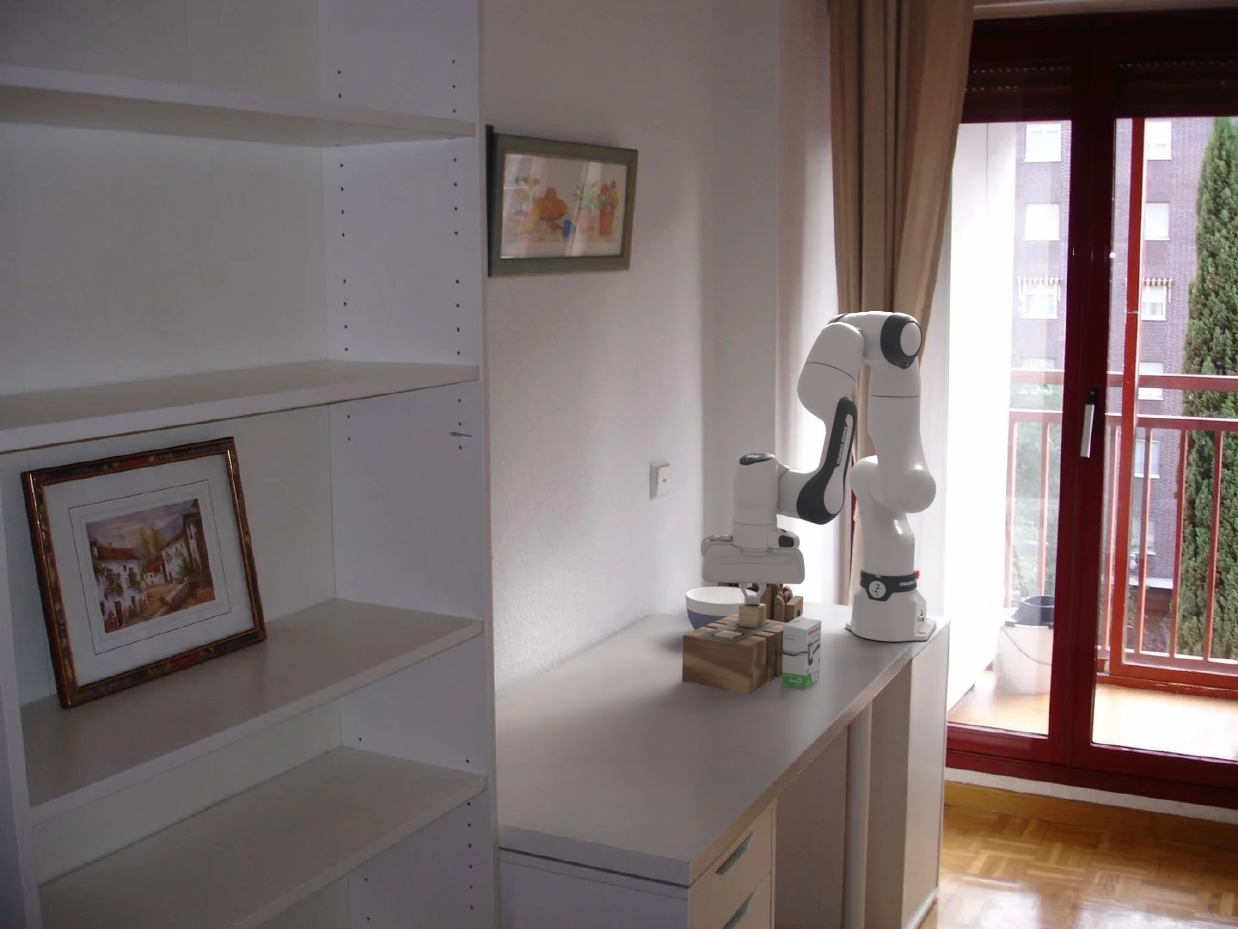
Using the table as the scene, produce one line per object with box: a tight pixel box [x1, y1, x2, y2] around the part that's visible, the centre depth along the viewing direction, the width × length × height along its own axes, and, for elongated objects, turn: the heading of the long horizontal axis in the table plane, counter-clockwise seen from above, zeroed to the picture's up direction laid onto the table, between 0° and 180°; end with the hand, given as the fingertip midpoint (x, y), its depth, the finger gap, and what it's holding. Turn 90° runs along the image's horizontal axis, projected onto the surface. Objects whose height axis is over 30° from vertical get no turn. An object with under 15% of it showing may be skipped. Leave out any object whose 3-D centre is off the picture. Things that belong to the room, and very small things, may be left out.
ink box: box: [781, 616, 822, 690], centre depth 234 cm, size 9×5×12 cm, turn 151°
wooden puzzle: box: [715, 583, 804, 623], centre depth 286 cm, size 22×15×19 cm, turn 69°
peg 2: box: [739, 603, 766, 629], centre depth 243 cm, size 4×4×9 cm
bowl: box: [685, 586, 757, 630], centre depth 266 cm, size 16×16×10 cm
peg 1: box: [713, 630, 742, 640], centre depth 235 cm, size 4×4×9 cm
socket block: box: [681, 614, 787, 695], centre depth 239 cm, size 20×14×9 cm
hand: (751, 604), depth 242 cm, fingers closed
